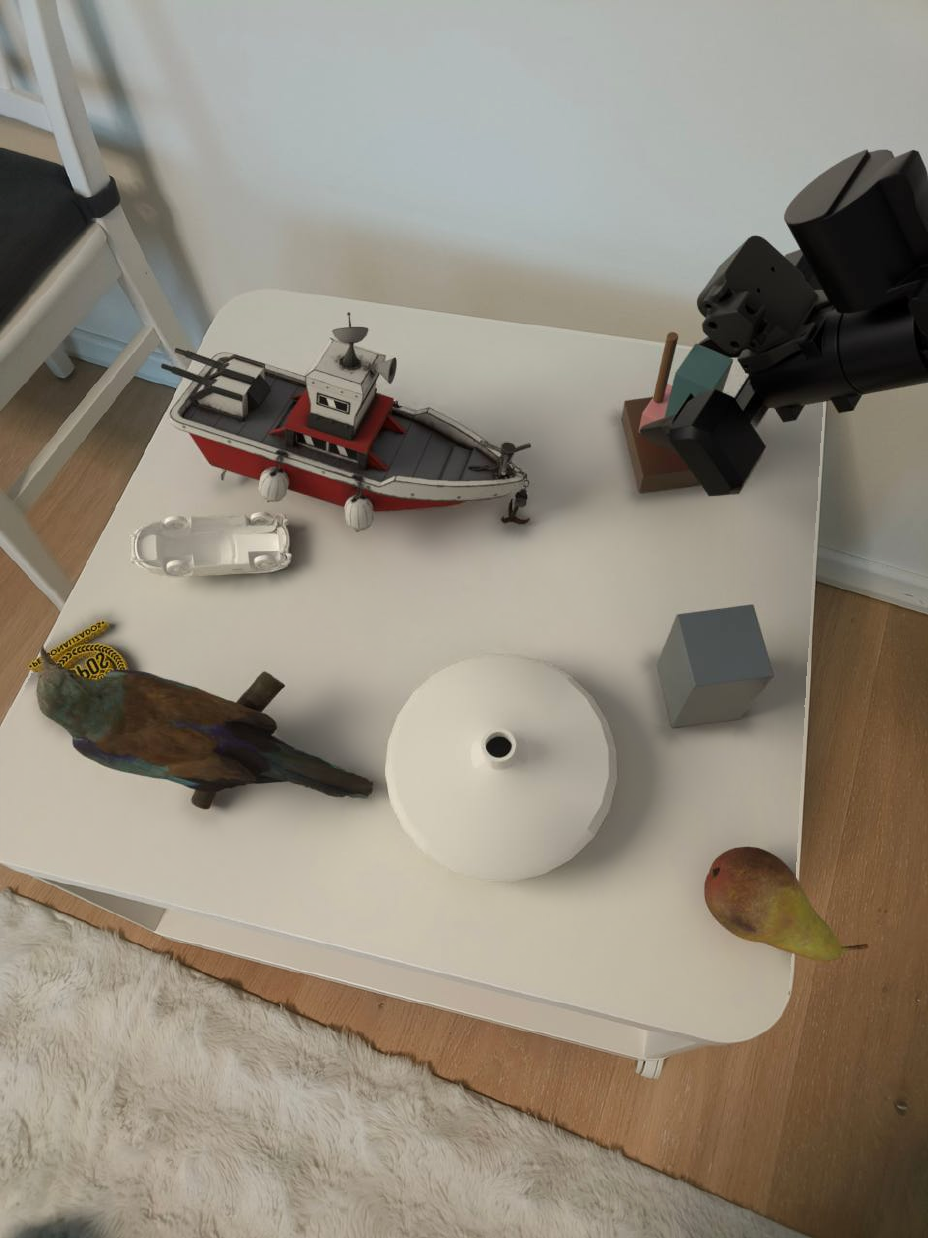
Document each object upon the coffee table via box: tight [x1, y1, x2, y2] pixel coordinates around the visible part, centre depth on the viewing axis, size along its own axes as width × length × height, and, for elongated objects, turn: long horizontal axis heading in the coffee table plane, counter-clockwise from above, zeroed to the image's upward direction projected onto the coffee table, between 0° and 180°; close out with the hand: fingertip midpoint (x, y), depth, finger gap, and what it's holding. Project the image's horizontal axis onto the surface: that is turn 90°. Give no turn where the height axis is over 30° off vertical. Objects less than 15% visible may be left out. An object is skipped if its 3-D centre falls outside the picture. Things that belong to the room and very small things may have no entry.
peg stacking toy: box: [639, 331, 734, 433], centre depth 64 cm, size 6×4×10 cm, turn 57°
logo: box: [27, 619, 130, 680], centre depth 65 cm, size 7×1×8 cm
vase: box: [384, 653, 618, 883], centre depth 57 cm, size 16×16×7 cm
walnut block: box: [621, 396, 701, 494], centre depth 69 cm, size 8×8×2 cm
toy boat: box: [160, 312, 532, 532], centre depth 65 cm, size 13×30×17 cm, turn 73°
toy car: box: [130, 511, 292, 578], centre depth 67 cm, size 5×12×4 cm, turn 99°
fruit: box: [703, 846, 870, 963], centre depth 53 cm, size 6×6×12 cm
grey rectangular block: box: [656, 603, 775, 729], centre depth 58 cm, size 5×5×9 cm
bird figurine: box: [36, 645, 374, 811], centre depth 57 cm, size 13×10×20 cm
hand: (672, 390), depth 65 cm, fingers open, 9 cm apart
